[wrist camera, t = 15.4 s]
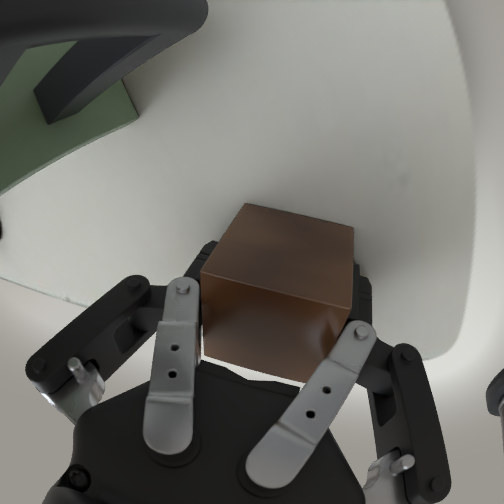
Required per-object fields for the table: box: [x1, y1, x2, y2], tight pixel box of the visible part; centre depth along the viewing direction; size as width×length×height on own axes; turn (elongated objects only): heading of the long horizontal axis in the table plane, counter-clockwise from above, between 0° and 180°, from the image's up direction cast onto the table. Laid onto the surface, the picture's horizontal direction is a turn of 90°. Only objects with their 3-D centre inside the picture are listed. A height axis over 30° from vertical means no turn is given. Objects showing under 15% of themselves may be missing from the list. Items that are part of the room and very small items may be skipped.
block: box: [200, 203, 354, 383], centre depth 13 cm, size 5×5×5 cm
